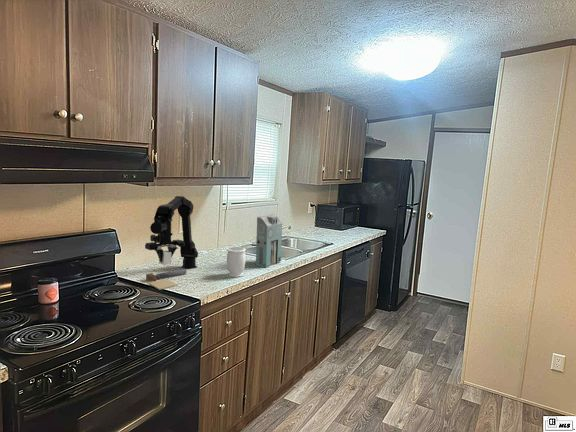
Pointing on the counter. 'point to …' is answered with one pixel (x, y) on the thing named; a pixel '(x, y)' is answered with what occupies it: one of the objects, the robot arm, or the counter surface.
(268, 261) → the device
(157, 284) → the mat
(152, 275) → the block
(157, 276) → the grey rounded rod
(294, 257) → the counter surface
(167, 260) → the white rectangular block
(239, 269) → the jar
